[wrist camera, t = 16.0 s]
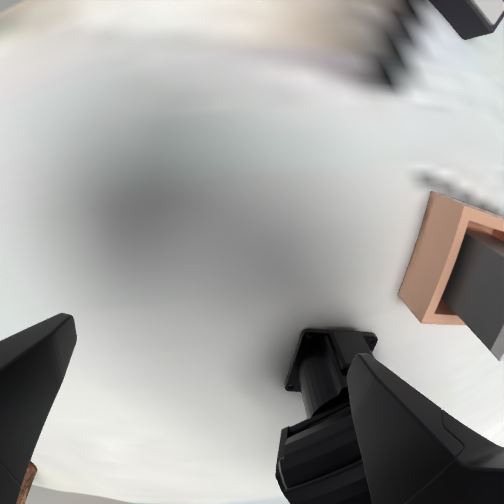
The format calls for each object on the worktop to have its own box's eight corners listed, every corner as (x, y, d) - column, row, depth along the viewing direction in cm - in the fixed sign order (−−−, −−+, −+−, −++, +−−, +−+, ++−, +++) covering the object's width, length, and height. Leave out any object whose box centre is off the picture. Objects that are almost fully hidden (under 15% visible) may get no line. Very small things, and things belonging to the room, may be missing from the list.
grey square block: (465, 285, 22) (537, 353, 13) (423, 281, 22) (498, 361, 13) (484, 230, 20) (570, 285, 11) (443, 220, 20) (537, 280, 11)
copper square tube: (467, 302, 24) (491, 325, 20) (397, 295, 23) (421, 323, 19) (499, 215, 21) (529, 230, 17) (431, 191, 20) (464, 205, 16)
